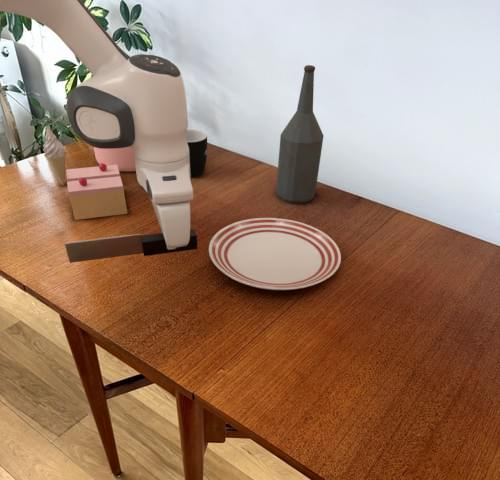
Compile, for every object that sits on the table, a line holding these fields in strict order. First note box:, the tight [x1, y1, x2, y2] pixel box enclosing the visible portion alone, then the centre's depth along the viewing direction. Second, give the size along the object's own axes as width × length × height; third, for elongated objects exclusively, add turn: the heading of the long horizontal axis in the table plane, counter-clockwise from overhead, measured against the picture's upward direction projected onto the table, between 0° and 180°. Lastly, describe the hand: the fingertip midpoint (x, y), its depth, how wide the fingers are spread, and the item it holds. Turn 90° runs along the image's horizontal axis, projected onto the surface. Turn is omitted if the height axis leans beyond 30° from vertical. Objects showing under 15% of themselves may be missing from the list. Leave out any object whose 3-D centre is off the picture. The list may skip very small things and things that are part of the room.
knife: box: [64, 228, 199, 264], centre depth 84 cm, size 23×2×4 cm, turn 108°
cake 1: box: [93, 147, 136, 173], centre depth 129 cm, size 20×20×14 cm
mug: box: [186, 128, 208, 178], centre depth 126 cm, size 12×9×10 cm
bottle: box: [275, 64, 324, 204], centre depth 110 cm, size 10×10×30 cm
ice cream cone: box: [42, 125, 67, 186], centre depth 115 cm, size 5×5×15 cm
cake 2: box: [65, 163, 128, 221], centre depth 110 cm, size 12×12×9 cm
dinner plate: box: [208, 217, 342, 291], centre depth 97 cm, size 28×27×3 cm
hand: (169, 241), depth 86 cm, fingers closed on knife, 2 cm apart
